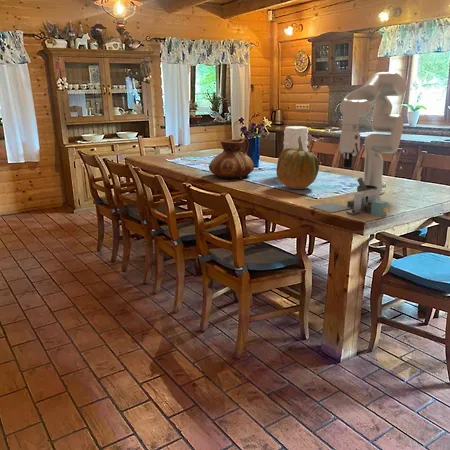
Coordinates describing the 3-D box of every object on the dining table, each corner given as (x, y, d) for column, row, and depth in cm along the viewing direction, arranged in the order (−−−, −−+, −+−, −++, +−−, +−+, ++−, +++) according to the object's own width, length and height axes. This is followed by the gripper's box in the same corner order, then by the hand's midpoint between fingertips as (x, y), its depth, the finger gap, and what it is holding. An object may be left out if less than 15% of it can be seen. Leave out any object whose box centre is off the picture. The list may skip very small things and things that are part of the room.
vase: (306, 173, 300) (308, 125, 291) (308, 178, 285) (310, 127, 276) (281, 173, 302) (282, 126, 293) (282, 178, 287) (283, 127, 278)
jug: (235, 182, 275) (235, 142, 268) (199, 177, 292) (197, 139, 285) (262, 175, 297) (262, 137, 290) (226, 171, 315) (225, 135, 308)
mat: (330, 203, 221) (330, 202, 221) (352, 208, 210) (352, 207, 210) (309, 207, 214) (309, 206, 214) (331, 213, 203) (331, 212, 203)
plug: (377, 212, 203) (378, 199, 201) (389, 215, 197) (390, 202, 196) (370, 214, 201) (371, 201, 199) (382, 217, 195) (383, 204, 194)
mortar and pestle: (367, 197, 232) (369, 174, 229) (380, 201, 224) (382, 177, 221) (350, 199, 228) (351, 176, 224) (362, 203, 220) (364, 179, 216)
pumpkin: (302, 182, 272) (304, 133, 263) (326, 190, 249) (329, 136, 240) (268, 185, 264) (269, 134, 255) (289, 194, 241) (291, 138, 232)
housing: (378, 206, 214) (379, 187, 211) (385, 207, 211) (386, 189, 208) (345, 213, 202) (347, 194, 200) (352, 215, 199) (354, 195, 196)
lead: (351, 206, 216) (352, 200, 215) (376, 213, 203) (377, 207, 202) (347, 207, 214) (347, 201, 213) (371, 214, 201) (372, 208, 200)
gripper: (367, 128, 201) (364, 168, 206) (346, 126, 214) (344, 164, 219) (353, 129, 198) (350, 169, 203) (333, 127, 211) (331, 165, 216)
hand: (347, 167), depth 211 cm, fingers closed
